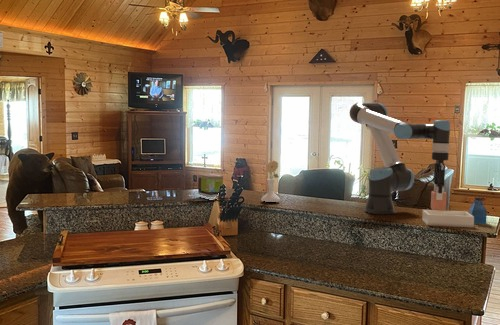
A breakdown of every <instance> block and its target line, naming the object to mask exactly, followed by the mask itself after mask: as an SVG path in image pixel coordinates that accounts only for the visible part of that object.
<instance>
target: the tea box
mask: <svg viewBox="0 0 500 325" xmlns="http://www.w3.org/2000/svg"><path fill="white" fill-rule="evenodd" d="M197 178H198V179H197V180H198V182H197V184H198V186H197V187H198V188H197V192H198V193H197V194H200V195H203V196H206V197H215V196H217V195H218V193H219V187H220V186H222V185H223V186H224V176H223V175H221V174H213V173H200V174H198V177H197Z"/></svg>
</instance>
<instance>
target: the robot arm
mask: <svg viewBox="0 0 500 325" xmlns="http://www.w3.org/2000/svg"><path fill="white" fill-rule="evenodd" d="M349 117H350V119H351V120H352V121H353V122H355V123H357V124H360V125H365V128H366V129H367V130H370V133H371V135H372V137H373V140H374V143H375V144H376V147H377V149H378V153H379V156H380V157H381V161H382V163H383V165H384V166H382V167H381V166H380V167H375V168H372V169H371V170H369V175H368V198H367V200H366V203H365V206H364V212H365V211H366V212H365V213H367V212H368V214H371V213H372V214H373V215H384V214H385V215H394V214H395V207H394V202H393V198H392V193H393V192H404V191H407V190H409V189H411V188H412V187H413V185H414V182H415V174H414V172H413V171H412V169H409V168H407V167H406V164H405V163H404V162H402V161H401V159H400V157H399V154H398V152H397V150H396V147H395V145H394V142H393V141H392V138H391V135H394V136H395V137H396V139H399V140H432V145H431V146H432V147H431V148H432V149H431V150H432V152H431V159H432V160H433V161H435V162H434V164H433V165H434V166H433V167H434V170H433V191H436V187H437V194H436V200H442V198H443V187H445V177H446V176H445V174H446V164H445V161H449V149H450V148H451V145H450V135H451V134H450V133H451V121H449V120H437V119H435V120H434V121H433V123H407V122H405V121H401V120H398V119H396V118H393V117H390V116H388V110H387V108H386V106H385V105H384V104H382V103H379V102H366V101H363V102H362V101H359V102H356V103H354V104H353V105H352V106H351V107H350V109H349ZM390 134H391V135H390Z"/></svg>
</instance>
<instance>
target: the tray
mask: <svg viewBox="0 0 500 325" xmlns="http://www.w3.org/2000/svg"><path fill="white" fill-rule="evenodd" d="M422 221H423V222H424V224H425V225H426V226H432V227H454V228H474V224H475V223H474V216H472V215H471V214H470V213H469V211H467V210H466V211H464V210H463V211H462V210H433V209H422Z"/></svg>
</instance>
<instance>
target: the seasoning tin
mask: <svg viewBox="0 0 500 325" xmlns="http://www.w3.org/2000/svg"><path fill="white" fill-rule="evenodd" d="M436 194H437V192H436V191H434V190H432V191H431V193H430V208H431V210H443V211H447V192H445V191H444V192H443V198H442V200H436Z"/></svg>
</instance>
